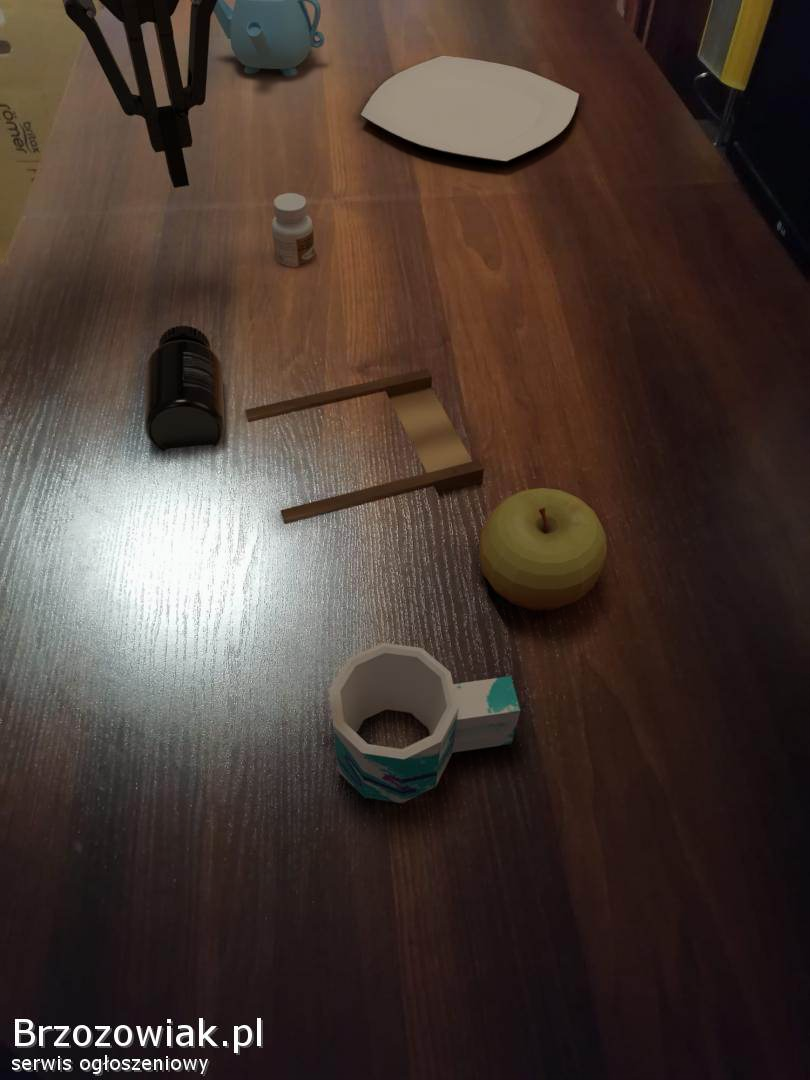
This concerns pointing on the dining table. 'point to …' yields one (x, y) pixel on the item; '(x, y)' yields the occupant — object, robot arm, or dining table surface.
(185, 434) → the supplement bottle
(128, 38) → the robot arm
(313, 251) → the pill bottle
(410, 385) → the brown u-shaped piece
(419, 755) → the mug
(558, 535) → the apple
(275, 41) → the teapot
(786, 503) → the dining table surface
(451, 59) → the plate
